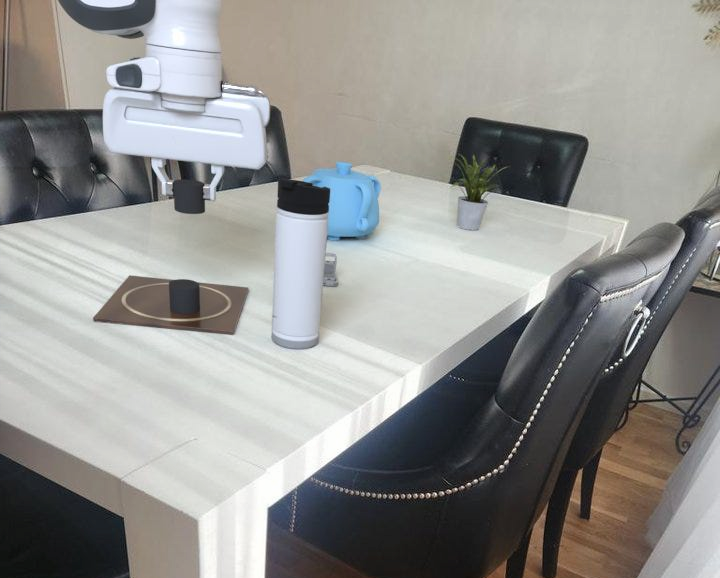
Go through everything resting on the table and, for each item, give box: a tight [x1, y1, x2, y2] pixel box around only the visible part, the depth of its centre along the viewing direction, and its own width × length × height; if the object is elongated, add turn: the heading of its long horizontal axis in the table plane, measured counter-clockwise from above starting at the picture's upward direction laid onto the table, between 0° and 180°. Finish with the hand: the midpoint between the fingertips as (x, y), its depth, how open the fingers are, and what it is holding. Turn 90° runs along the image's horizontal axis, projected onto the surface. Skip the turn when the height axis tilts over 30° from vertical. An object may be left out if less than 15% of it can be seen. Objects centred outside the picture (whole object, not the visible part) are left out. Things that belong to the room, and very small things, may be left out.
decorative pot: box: [302, 161, 382, 241], centre depth 131 cm, size 16×16×14 cm
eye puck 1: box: [173, 178, 206, 215], centre depth 86 cm, size 4×4×4 cm
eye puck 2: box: [169, 278, 200, 314], centre depth 88 cm, size 4×4×4 cm
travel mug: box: [271, 178, 330, 350], centre depth 81 cm, size 6×7×20 cm
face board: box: [92, 274, 250, 336], centre depth 92 cm, size 18×18×1 cm
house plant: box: [450, 153, 511, 231], centre depth 150 cm, size 14×14×16 cm
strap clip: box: [323, 252, 339, 287], centre depth 108 cm, size 8×3×4 cm, turn 9°
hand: (189, 197), depth 86 cm, fingers closed on eye puck 1, 4 cm apart
